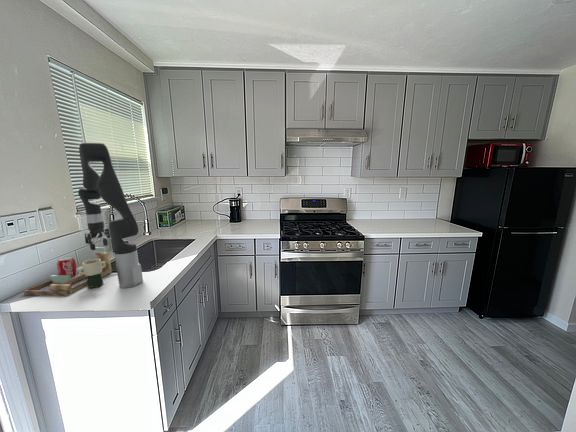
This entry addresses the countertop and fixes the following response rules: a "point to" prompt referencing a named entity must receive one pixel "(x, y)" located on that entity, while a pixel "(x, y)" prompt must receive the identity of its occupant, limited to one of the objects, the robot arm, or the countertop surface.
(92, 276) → the character mug
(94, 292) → the countertop surface
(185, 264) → the countertop surface
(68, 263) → the soda can
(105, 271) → the oak sled
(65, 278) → the sage sled
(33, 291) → the frame
